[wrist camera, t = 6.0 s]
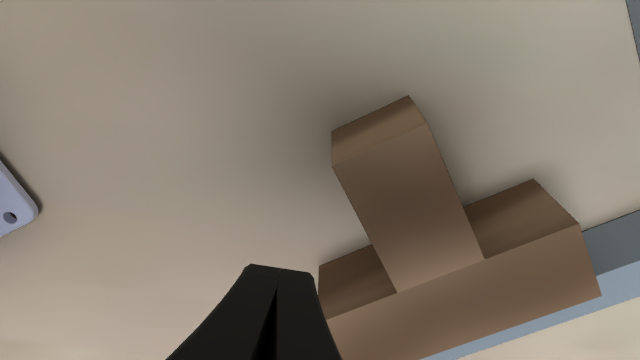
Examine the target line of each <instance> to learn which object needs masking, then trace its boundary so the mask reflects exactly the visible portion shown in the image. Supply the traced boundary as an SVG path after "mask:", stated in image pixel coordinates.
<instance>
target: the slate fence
mask: <svg viewBox="0 0 640 360" xmlns="http://www.w3.org/2000/svg"><path fill="white" fill-rule="evenodd" d="M626 1H627V6H628V10H629V14H630V19H631V23H632V28H633V32H634V36H635V41H636V45H637V50H638V54H639V58H640V0H626ZM582 234H583V237H584V240H585V244H586V247H587V250H588V253H589V256H590V259H591V262H592V266H593V269H594V272H595V275H596V278H597V281H598V284H599V288H600V291H601V294H602V296H601V297H598V298H595V299H592V300H589V301H586V302H584V303H581V304H578V305H575V306H572V307H569V308H566V309H563V310H561V311H558V312H555V313H552V314H549V315H546V316H543V317H541V318H538V319H535V320H532V321H529V322H526V323H523V324H520V325H518V326H515V327H512V328H509V329H506V330H503V331H500V332H497V333H495V334H492V335H489V336H486V337H483V338H480V339H477V340H475V341H472V342H469V343H466V344H463V345H460V346H457V347H454V348H452V349H449V350H446V351H443V352H440V353H437V354H434V355H432V356H429V357H426V358H423V359H420V360H455V359H458V358H461V357H463V356H466V355H469V354H472V353H475V352H478V351H481V350H484V349H487V348H490V347H493V346H496V345H499V344H502V343H504V342H507V341H510V340H513V339H516V338H519V337H522V336H525V335H528V334H531V333H534V332H537V331H540V330H543V329H545V328H548V327H551V326H554V325H557V324H560V323H563V322H566V321H569V320H572V319H575V318H578V317H581V316H583V315H586V314H589V313H592V312H595V311H598V310H601V309H604V308H607V307H610V306H613V305H616V304H619V303H622V302H624V301H627V300H630V299H633V298H636V297H639V296H640V210H639V211H636V212H634V213H631V214H628V215H626V216H623V217H621V218H618V219H615V220H613V221H610V222H607V223H605V224H602V225H599V226H597V227H594V228H591V229H589V230H586V231H583V232H582Z"/></svg>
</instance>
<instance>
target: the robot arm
mask: <svg viewBox="0 0 640 360" xmlns="http://www.w3.org/2000/svg"><path fill="white" fill-rule="evenodd" d="M10 212H12V213H13V214H15V215H16V217H17V219H16V218H14V217H12V216H11V214H10ZM38 213H39V212H38V207H37V206H36V204H35V203H34V201H33V200H32V199H31V198H30V196H29V195H28V194H27V193H26V191H25V190H24V189H23V188H22V186H21V185H20V184H19V183H18V182H17V180H16V179H15V178H14V177H13V175H12V174H11V173H10V172H9V170H8V169H7V168H6V167H5V165H4V164H3V163H2V162H1V161H0V237H1V236H3V235H5V234H7V233H9V232H11V231H13V230H15V229H18V228H20V227H22V226H24V225H26V224H28V223H30V222H31V221H32V220H33V219H35V218H36V217H37V215H38ZM279 272H280V273H279ZM278 278H279V279H278ZM166 360H342V357H341V355H340V353H339V351H338V348H337V346H336V344H335V341H334V339H333V337H332V334H331V332H330V329H329V327H328V324H327V322H326V319H325V316H324V313H323V311H322V308H321V305H320V302H319V298H318V295H317V291H316V287H315V282H314V278H313V277H312V275H311V274H310V273H308V272H302V271H295V270H289V269H282V268H276V267H269V266H263V265H256V264H250V265H248V266H247V267H245V268H244V270H243V272H242V273H241V275H240V276H239V278H238V279H237V281H236V282H235V284H234V285H233V286H232V288H231V289H230V290H229V292H228V293H227V294H226V295H225V297H224V298H223V299H222V300H221V302H220V303H219V304H218V305H217V306H216V307H215V309H214V310H213V311H212V312H211V313H210V314H209V315H208V317H207V318H206V319H205V320H204V321H203V322H202V323H201V324H200V326H199V327H198V328H197V329H196V330H195V331H194V332H193V333H192V334H191V335H190V336H189V337H188V338H187V339H186V340H185V341H184V342H183V343H182V344H181V345H180V346H179V347H178V348H177V349H176V350H175V351H174V352H173V353H172V354H171V355H170V356H169V357H168V358H167V359H166Z"/></svg>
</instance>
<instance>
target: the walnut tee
mask: <svg viewBox="0 0 640 360" xmlns="http://www.w3.org/2000/svg"><path fill="white" fill-rule="evenodd" d="M332 168H333V170H334V172H335V174H336V176H337V178H338V180H339V181H340V183H341V185H342V187H343V189H344V191H345V193H346V195H347V197H348V199H349V201H350V203H351V204H352V206H353V208H354V210H355V212H356V214H357V216H358V218H359V220H360V222H361V224H362V226H363V227H364V229H365V231H366V233H367V235H368V237H369V239H370V241H371V243H372V245H370V246H368V247H365V248H363V249H360V250H358V251H355V252H353V253H350V254H348V255H346V256H343V257H341V258H338V259H336V260H333V261H331V262H328V263H326V264H324V265H321V266H319V282H318V298H319V302H320V305H321V308H322V311H323V313H324V316H325V319H326V322H327V324H328V327H329V329H330V332H331V334H332V337H333V339H334V341H335V344H336V346H337V348H338V351H339V353H340V355H341V357H342V360H420V359H423V358H426V357H429V356H432V355H434V354H437V353H440V352H443V351H446V350H449V349H452V348H454V347H457V346H460V345H463V344H466V343H469V342H472V341H475V340H477V339H480V338H483V337H486V336H489V335H492V334H495V333H497V332H500V331H503V330H506V329H509V328H512V327H515V326H518V325H520V324H523V323H526V322H529V321H532V320H535V319H538V318H541V317H543V316H546V315H549V314H552V313H555V312H558V311H561V310H563V309H566V308H569V307H572V306H575V305H578V304H581V303H584V302H586V301H589V300H592V299H595V298H598V297H601V296H602V294H601V291H600V288H599V284H598V281H597V278H596V275H595V272H594V269H593V266H592V262H591V259H590V256H589V253H588V250H587V247H586V244H585V240H584V237H583V234H582V231H581V228H580V225H579V223H578V222H577V221H576V220H575V219H574V218H573V217H572V216H571V215H570V214H569V213H568V212H567V211H566V210H565V209H564V208H563V207H562V206H561V205H560V204H559V203H558V202H557V201H556V200H554V199H553V198H552V197H551V196H550V195H549V194H548V193H547V192H546V191H545V190H544V189H543V188H542V187H541V186H540V185H539V184H538V183H537V182H536V181H535V180H534V179H532V180H529V181H527V182H524V183H522V184H519V185H517V186H515V187H512V188H510V189H507V190H505V191H502V192H500V193H497V194H495V195H493V196H490V197H488V198H485V199H483V200H480V201H478V202H475V203H473V204H470V205H468V206H466V207H463V206H462V204H461V202H460V199H459V197H458V195H457V192H456V190H455V187H454V185H453V183H452V180H451V178H450V176H449V173H448V171H447V168H446V166H445V164H444V161H443V159H442V157H441V154H440V152H439V149H438V147H437V145H436V142H435V140H434V137H433V135H432V133H431V130H430V128H429V126H428V123H427V122H426V120H425V119H424V117H423V116H422V114H421V113H420V112H419V110H418V109H417V107H416V106H415V104H414V103H413V101H412V100H411V98H410V97H409V95H408V96H406V97H404V98H402V99H400V100H398V101H395V102H393V103H391V104H389V105H387V106H385V107H383V108H381V109H378V110H376V111H374V112H372V113H370V114H368V115H366V116H363V117H361V118H359V119H357V120H355V121H353V122H351V123H349V124H346V125H344V126H342V127H340V128H338V129H336V130H334V131H332Z"/></svg>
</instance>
